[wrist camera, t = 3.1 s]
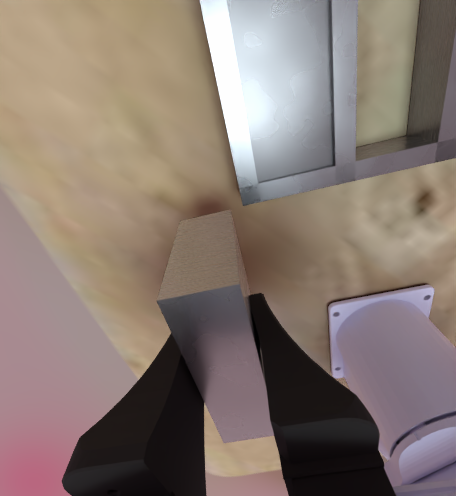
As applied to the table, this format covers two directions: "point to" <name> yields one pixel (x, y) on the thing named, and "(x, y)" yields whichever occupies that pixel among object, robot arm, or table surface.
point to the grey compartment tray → (320, 93)
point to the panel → (217, 325)
